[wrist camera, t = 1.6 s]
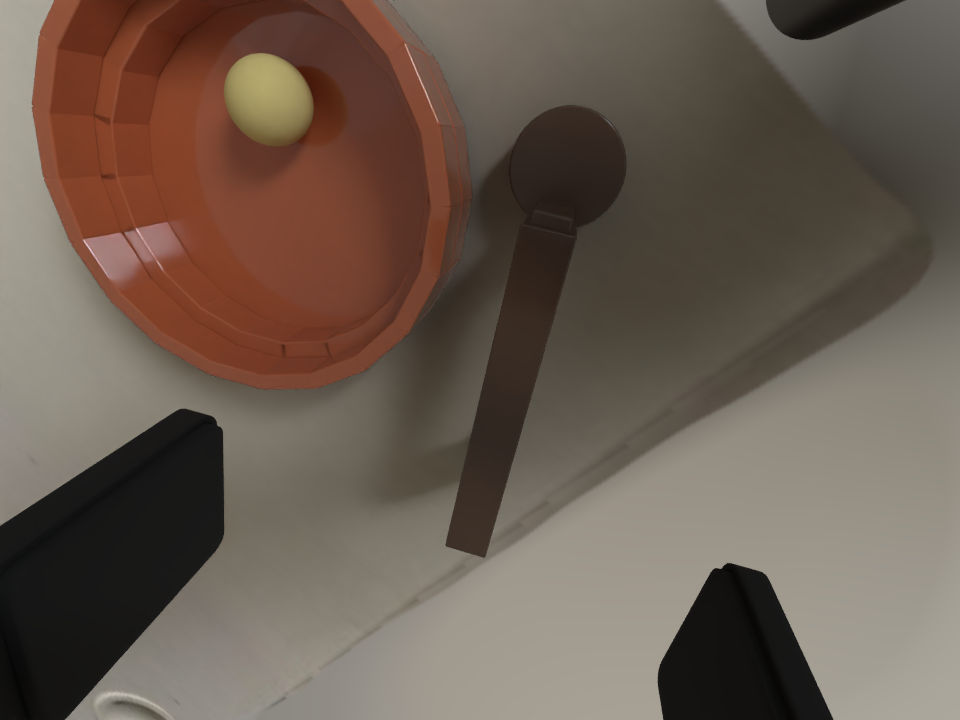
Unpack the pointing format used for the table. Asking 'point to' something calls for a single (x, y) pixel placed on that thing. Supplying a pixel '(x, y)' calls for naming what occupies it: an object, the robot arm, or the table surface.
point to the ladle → (533, 294)
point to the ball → (268, 99)
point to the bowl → (254, 180)
